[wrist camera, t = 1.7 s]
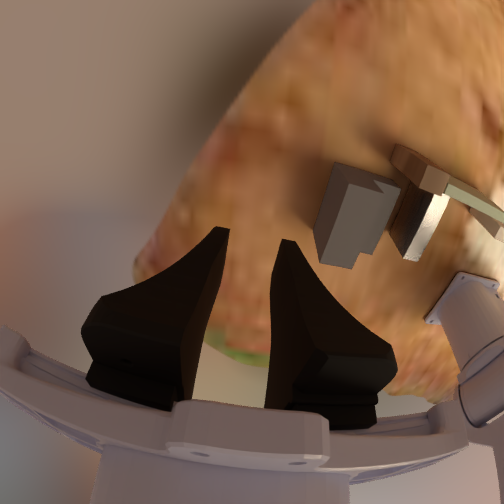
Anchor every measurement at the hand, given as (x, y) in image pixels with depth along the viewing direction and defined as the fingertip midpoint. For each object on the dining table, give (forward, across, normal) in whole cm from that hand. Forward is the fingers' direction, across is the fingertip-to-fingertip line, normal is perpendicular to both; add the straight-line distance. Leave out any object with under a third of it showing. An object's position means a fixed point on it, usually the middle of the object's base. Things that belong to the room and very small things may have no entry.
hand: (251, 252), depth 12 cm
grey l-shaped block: (+9, -16, -1) cm, 18 cm away
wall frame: (+9, -16, -4) cm, 19 cm away
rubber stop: (+10, -8, 0) cm, 12 cm away
